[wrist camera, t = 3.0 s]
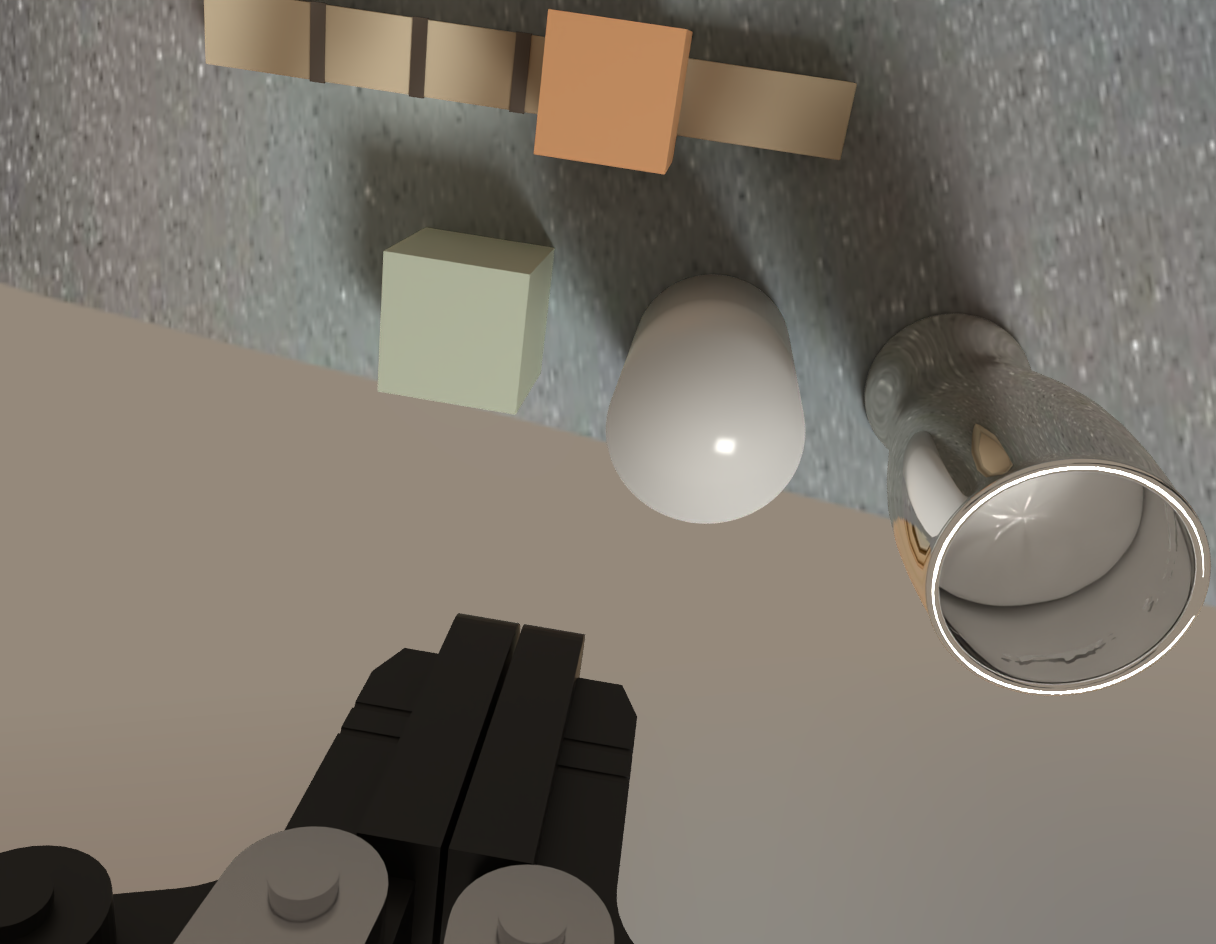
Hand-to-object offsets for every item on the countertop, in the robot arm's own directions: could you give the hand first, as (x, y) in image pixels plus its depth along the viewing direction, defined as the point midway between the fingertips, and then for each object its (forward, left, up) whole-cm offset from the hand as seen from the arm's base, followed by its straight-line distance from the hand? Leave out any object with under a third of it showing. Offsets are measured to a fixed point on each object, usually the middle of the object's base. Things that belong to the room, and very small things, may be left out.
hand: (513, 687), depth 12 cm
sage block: (+7, +3, -28) cm, 29 cm away
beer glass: (-11, +3, -28) cm, 30 cm away
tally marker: (+2, -6, -25) cm, 26 cm away
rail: (+6, -6, -28) cm, 29 cm away
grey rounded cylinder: (-2, +3, -28) cm, 28 cm away
